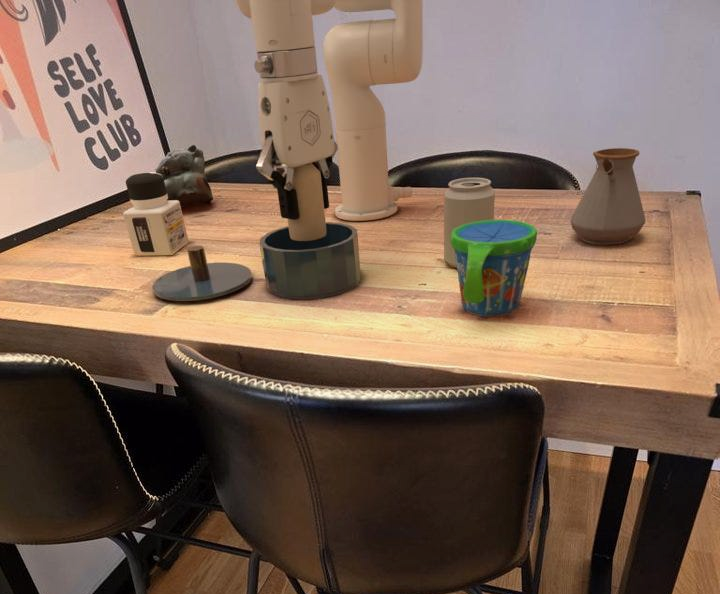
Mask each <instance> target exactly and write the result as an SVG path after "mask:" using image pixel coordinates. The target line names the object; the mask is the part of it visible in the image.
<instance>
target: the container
mask: <svg viewBox="0 0 720 594" xmlns="http://www.w3.org/2000/svg"><path fill="white" fill-rule="evenodd" d="M125 185H126V190H127V192H128V196H129V200H130V203H131V205H133V206H132V207H129V208H128V209H126V210H125V211H123V213H122V216H123V219H124V223H125V226H126V230H127V234H128V237H129V241H130V245H131V248H132V251H133V255H134V256H136V257H138V256H141V257H142V256H143V257H145V256H172V255H174V254H175V253H177V252H178V251H179V250H181V249H182V248H183V247H185V246H186V245H187V244H188V243H189V237H188V232H187V229H186V224H185V219H184V216H183V211H182V206H180V202H179V201H178V200H171V201H167V199H168V195H167V191H166V187H165V182H164V178H163V176H162V175H161V174H158V173H156V171H147V172H140V173H135V174H132V175H130V176H129V177H127V178H126V180H125Z"/></svg>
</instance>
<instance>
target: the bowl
mask: <svg viewBox="0 0 720 594" xmlns="http://www.w3.org/2000/svg"><path fill="white" fill-rule="evenodd" d="M358 235H359V234H358V229H357V228H356V227H354V226H352V225H350V224H347V223H342V222H336V221H335V222H333V221H326V236H324V237H322V238H320V239H316V240H311V241H296V240H292V239H291V238H290V233H289V226H288V225H287V226H283V227H280V228H276V229H273V230H271V231H269V232H266V233H265V234H264V235H263V236H262V237H260V239H259V243H258V244H259V250H260V257H261V262H262V268H263V274H264V280H265V286H266V289H267V291H268V292H269V293H270V294H271V295H273V296H275V297H278V298H281V299H287V300H295V301H297V300H299V301H300V300H301V301H303V300H304V301H305V300H317V299H324V298H330V297H335V296H337V295H341V294H343V293H346V292H348V291H351V290H352V289H354V288H355V287H357V286H358V285H359V284H360V282H361V279H362V275H361V274H362V272H361V262H360V248H359V237H358Z"/></svg>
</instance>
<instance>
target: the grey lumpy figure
mask: <svg viewBox="0 0 720 594" xmlns="http://www.w3.org/2000/svg"><path fill="white" fill-rule="evenodd" d="M205 168H206V166H205V157H204V151H203V150H202V149H200V148H197V146H196V145H195V144H192V145H190V146H188V149H186V148H178V149H173V150H171V151H168V152H167V153H166V155H165V157H164V158H162V159H161V160H160V162H159V163H158V166H157V167H156V168H155V173H158V174H161V175H162V176H163V178H164V182H165V187H166V191H167V195H168V199H167V201H171V200H178V201H179V202H180V206H181V207H186V206H192V205H211V204H212V201H214V196H213V192H212V188H211V186H210V183H209V182H208V180H207V177H206V172H205V171H206V169H205Z"/></svg>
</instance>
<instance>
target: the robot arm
mask: <svg viewBox="0 0 720 594" xmlns="http://www.w3.org/2000/svg"><path fill="white" fill-rule="evenodd" d="M234 3H235V5H236V6H237V9H238V10H239V12H241V14H243V16H245V17H247V18H248V19H250V20H251V23H252V29H253V38H254V43H255V51H256V56H257V60H255V61H254V70H255V71H256V73H258V74H259V80H260V82H258V87H257V88H258V90H257V91H258V92H257V103H258V105H257V106H258V121H259V134H260V142H261V148H262V149H261V151H260V153H259V156H258V158H257V162H256V164H255V169H256V171H258V172H259V173H260V174H261V175H262V176H263V177H265V179H266V180H267V181H268V182H269V183H270V184H271V185H272V188H273V189H274V190H276V191H277V199H278V205H279V212H280V217H281V218H282V219H287V220H288V219H292V220H297V219H299V209H298V201H297V193H296V189H292V184H293V174H294V167H298V166H302V165H305V164H308V163H312V164H313V165H314V166H315V167H316V168H317V169H318V170H319V171H320V173H321V182H322V192H323V202H324V210H327V209H329V208H330V201H329V200H330V199H329V192H328V191H329V189H328V181H327V179H329V177H330V169H331V166H332V164H333V159H334V158H335V155H336V154H337V163H338V173H339V185H340V197H341V204H340V205H338V206H336V207H335V209H334V214H335V217H336V218H338V219H340V220H343V221H351V222H363V221H365V222H366V221H374V220H375V221H376V220H379V219H384V218H388V217H390V216H392V215H394V214H396V212H398V204H397V203H396V202H398V200H399V199H407V198H412V196H413V189H412V187H411V186H405V187H401V186H397V187H394V186H391V185H389V167H388V146H387V143H388V141H387V126H386V125H387V123H386V121H387V120H386V112H385V109H384V106H383V104H382V102H381V101H380V99H379V98H378V96H377V95H376V94H375V92H374V91H373V90H372V89H371V87H373V86H378V85H379V86H380V85H394V84H404V83H405V84H406V83H411V82H413V81H415V80H416V79H418V77H419V75H420V73H421V71H422V67H423V58H424V57H423V56H424V55H423V54H424V52H423V51H424V49H423V47H424V45H423V44H424V41H423V40H424V38H423V37H424V31H423V25H424V23H423V18H424V17H423V0H234ZM333 8H334V9H336V10H337V11H339V12H342V13H360V12H361V13H363V12H374V11H386V10H387V11H388V10H390V11H393V12H394V15H395V18H385V19H374V20H373V19H369V20H358V21H349V22H348V21H347V22H344V23H340V24H337V25H335V26H333V27H332V28H330V29H329V31H328V32H327V33H326V34H325V37H324V40H323V45H322V51H323V52H322V54H323V55H322V56H323V61H324V66H325V71H326V74H327V79H328V83H329V88H330V93H331V101H332V109H333V117H334V127H335V128H334V127H333V120H332V114H331V113H332V112H331V108H330V103H329V98H328V93H327V88H326V85H325V82H324V79H323V75H322V74H318V73H319V72H318V61H317V52H316V51H317V50H316V42H315V31H314V23H313V16H318V15H319V16H321V15H323V14H326V13H328V12H330V11H331V10H332V9H333ZM334 130H335V135H334ZM335 139H336V141H335ZM283 170H284V172H285V174H284V177H283V176H282V175H283Z"/></svg>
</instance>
